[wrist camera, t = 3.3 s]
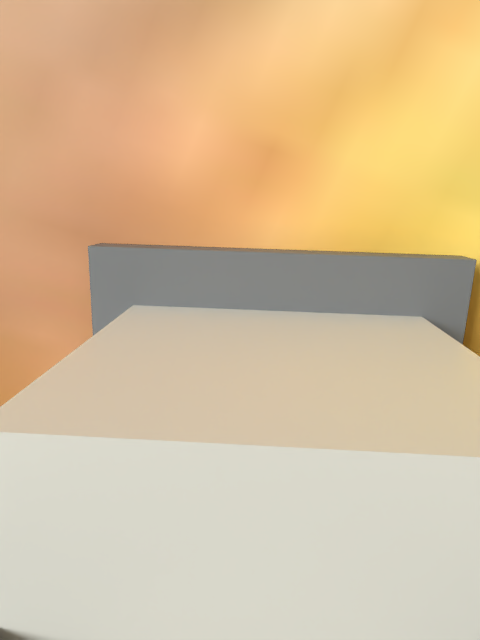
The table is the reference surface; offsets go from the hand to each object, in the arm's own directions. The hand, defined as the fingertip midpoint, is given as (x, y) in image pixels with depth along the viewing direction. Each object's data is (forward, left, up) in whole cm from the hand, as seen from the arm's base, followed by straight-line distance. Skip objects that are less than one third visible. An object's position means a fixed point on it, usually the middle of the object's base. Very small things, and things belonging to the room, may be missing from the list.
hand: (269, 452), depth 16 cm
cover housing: (0, 0, -1) cm, 1 cm away
